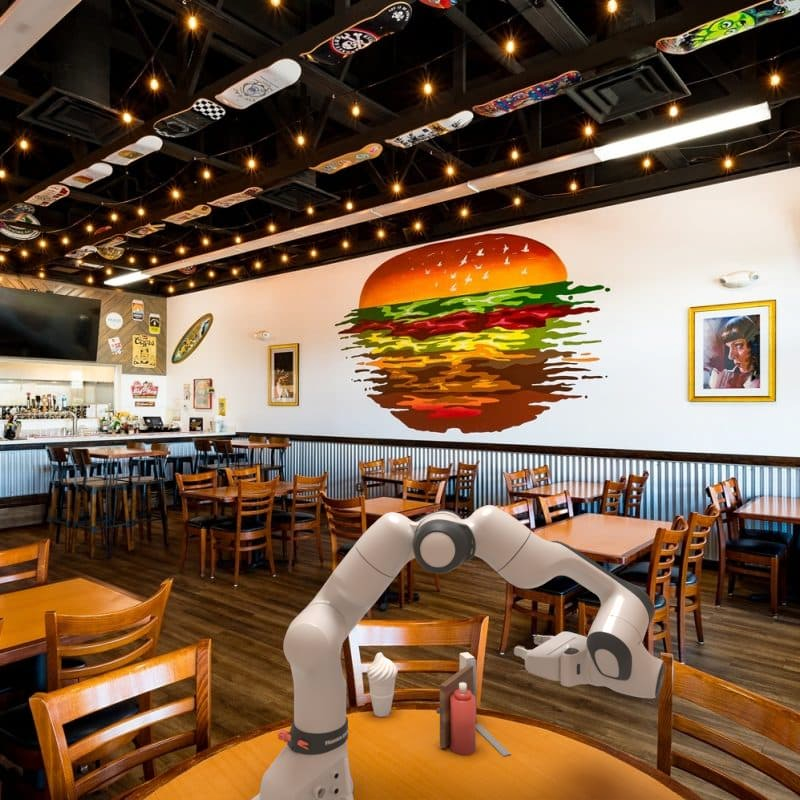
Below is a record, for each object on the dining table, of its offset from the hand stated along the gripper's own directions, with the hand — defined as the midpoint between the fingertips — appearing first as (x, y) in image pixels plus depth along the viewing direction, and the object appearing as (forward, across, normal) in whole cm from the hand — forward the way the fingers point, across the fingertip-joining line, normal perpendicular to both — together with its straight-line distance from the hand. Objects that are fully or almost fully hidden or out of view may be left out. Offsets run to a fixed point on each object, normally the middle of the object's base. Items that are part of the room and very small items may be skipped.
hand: (525, 644), depth 139 cm
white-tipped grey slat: (+15, -7, +27) cm, 32 cm away
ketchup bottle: (+15, +2, +28) cm, 31 cm away
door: (+20, -2, +27) cm, 34 cm away
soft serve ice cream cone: (+42, +1, +28) cm, 50 cm away
